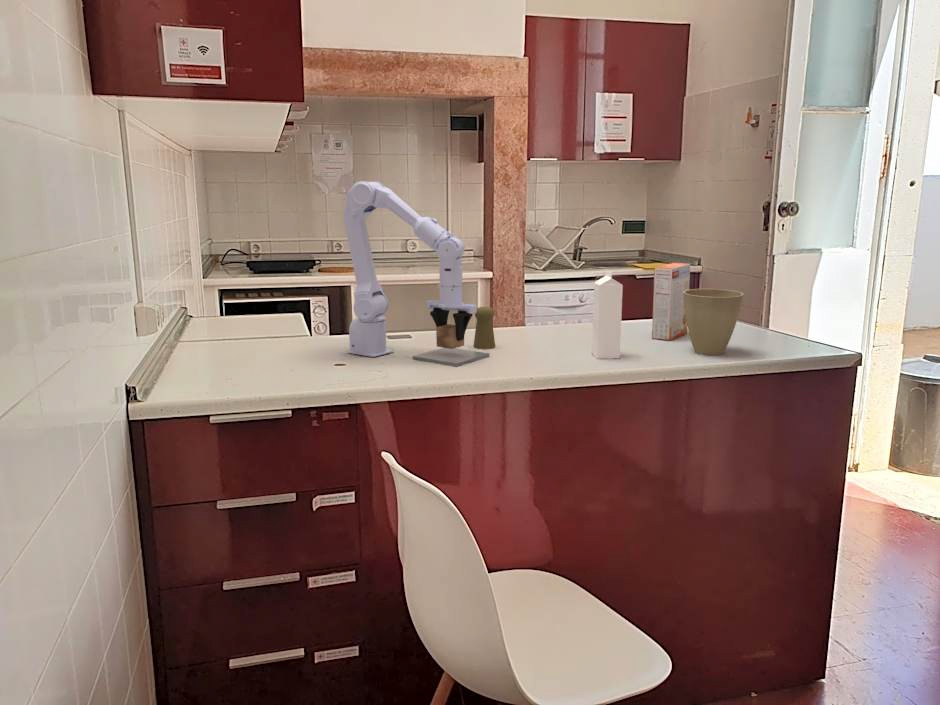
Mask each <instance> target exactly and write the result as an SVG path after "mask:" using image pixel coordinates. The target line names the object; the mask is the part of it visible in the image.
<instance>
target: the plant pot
mask: <svg viewBox="0 0 940 705" xmlns="http://www.w3.org/2000/svg"><path fill="white" fill-rule="evenodd" d="M683 297H684V307H685V315H686V321H687V332H688V335H689V337H690V342H691V345H692V349H693V350H694V353H697V354H699V355H705V356H721V355H723V354H724V353H725V351H726V350H727V347H728V345H729V343H730V340H731V338H732V335H733V333H734V330H735V328H736V326H737V325H736V324H737V321H738V318H739V315H740V311H741V307H742V304H743V298H744V292H740V291H738V290H729V289H721V288H719V289H718V288H693V289H689V290H685V291H683Z"/></svg>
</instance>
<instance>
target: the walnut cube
mask: <svg viewBox="0 0 940 705" xmlns="http://www.w3.org/2000/svg"><path fill="white" fill-rule="evenodd" d="M435 328H436V331H435V333H436V334H435V335H436V336H435V337H436V338H435V339H436V347H437V348H449V349H454V348H460V347H463V346H465V339H464V340H461V341H457V339H456V326H455V324H451V323H450V324H449V323H447V325H443V326H439V327H436V326H435Z"/></svg>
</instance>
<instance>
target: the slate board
mask: <svg viewBox="0 0 940 705" xmlns="http://www.w3.org/2000/svg"><path fill="white" fill-rule="evenodd" d="M488 357H490V353H488V352H483V351H477V350H470V349H463V348H459V347H457V348H454V349H449V348H443V347H440V348H438V349H433V350H430V351H427V352H423V353H419V354H416V355H412V360H415V359H417V361H421V360H422V362H427V361H428V363H432V362H433V363H434V364H438V363H439V365H444V364H445V366H449V367H450V366H451V367H455V366H456V368H457V367H460V366H464V365H466V364H470V363H473V362H476V361H479V360H482V359H485V358H488ZM463 364H464V365H463Z"/></svg>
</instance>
